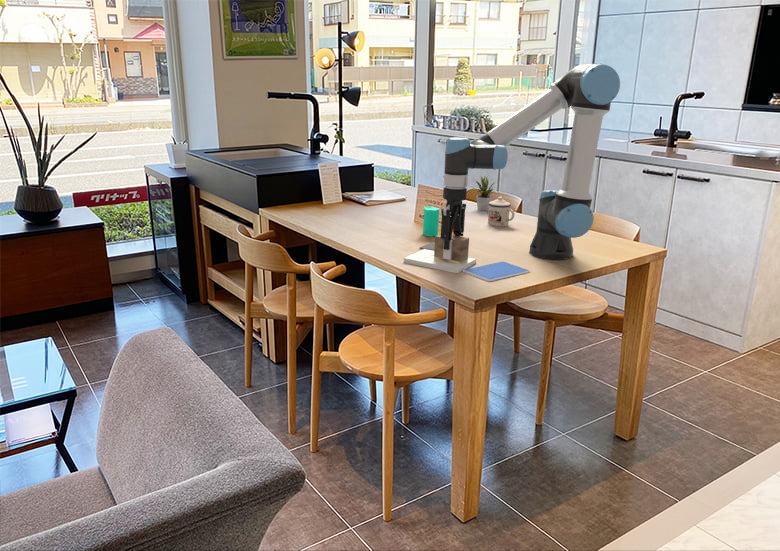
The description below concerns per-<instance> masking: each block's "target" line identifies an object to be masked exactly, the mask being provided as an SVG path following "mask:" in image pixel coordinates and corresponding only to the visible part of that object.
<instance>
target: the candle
mask: <svg viewBox="0 0 780 551" xmlns="http://www.w3.org/2000/svg"><path fill="white" fill-rule="evenodd" d="M422 222H423V223H422V226H423V227H422V234H423V236H425V237H426V236H427V237H435V236H437V235H439V225H440V224H439V223H440V208H439V207H435V206H423V221H422Z"/></svg>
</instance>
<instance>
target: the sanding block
mask: <svg viewBox="0 0 780 551" xmlns="http://www.w3.org/2000/svg"><path fill="white" fill-rule="evenodd" d="M451 240H452V257H451V260H449V259H444V258H443V249H444V239H441V233H438V235H437V236H434V242H435V248H434V260H439V261H444V262H449V263H454V264H459V265H462V264H464V263H465V262H467V261H468V257H469V250H470V249H469V247H470V237H467V236H455V235H454V234H452V237H451Z"/></svg>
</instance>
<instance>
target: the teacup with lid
mask: <svg viewBox="0 0 780 551" xmlns="http://www.w3.org/2000/svg"><path fill="white" fill-rule="evenodd" d="M510 213H511V217H510ZM487 216H488V217H487V224H488V225H490V226H493V227H506V226H508V225H509V223H510V221H512V220H514V218H515V211H514V210H513V209H512V208H511V203H510V202H508V201H507V200H505V199H504V198H503V197H502V196H498V197H497V198H496V199H494V200H491V202H489V210H488V215H487Z"/></svg>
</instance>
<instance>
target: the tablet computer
mask: <svg viewBox="0 0 780 551" xmlns="http://www.w3.org/2000/svg"><path fill="white" fill-rule="evenodd" d="M462 272H463V273H464V274H466V275H469V276H471V277H475V278H477V279H480V280H482V281H485V282H488V283H489V282H494V281H499V280H502V279H507V278H511V277H516V276H520V275H526V274H529V273H531V270H529V269H526V268H523V267H520V266H518V265H515V264H513V263H509V262H506V261H498V262H494V263H489V264H484V265H480V266H475V267H470V268H469V267H468V268H466V269H464V270H463V271H462Z"/></svg>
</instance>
